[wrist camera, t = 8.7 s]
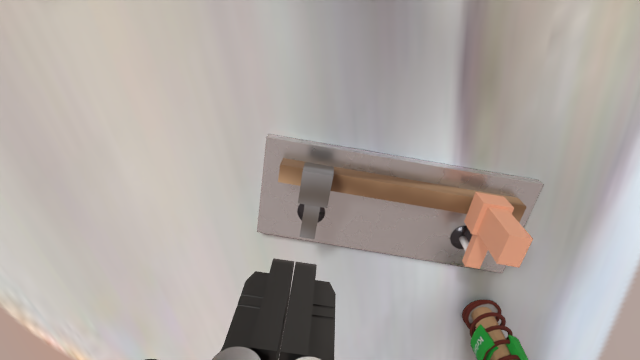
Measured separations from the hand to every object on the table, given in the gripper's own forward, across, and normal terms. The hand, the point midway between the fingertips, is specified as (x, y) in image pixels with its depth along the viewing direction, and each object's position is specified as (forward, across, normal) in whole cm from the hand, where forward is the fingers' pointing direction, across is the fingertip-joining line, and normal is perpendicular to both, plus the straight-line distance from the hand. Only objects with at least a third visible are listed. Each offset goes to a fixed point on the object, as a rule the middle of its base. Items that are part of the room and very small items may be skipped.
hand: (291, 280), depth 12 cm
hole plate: (+27, -10, +11) cm, 31 cm away
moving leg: (+25, -18, +10) cm, 33 cm away
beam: (+26, -9, +10) cm, 29 cm away
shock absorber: (+27, -24, +24) cm, 44 cm away
